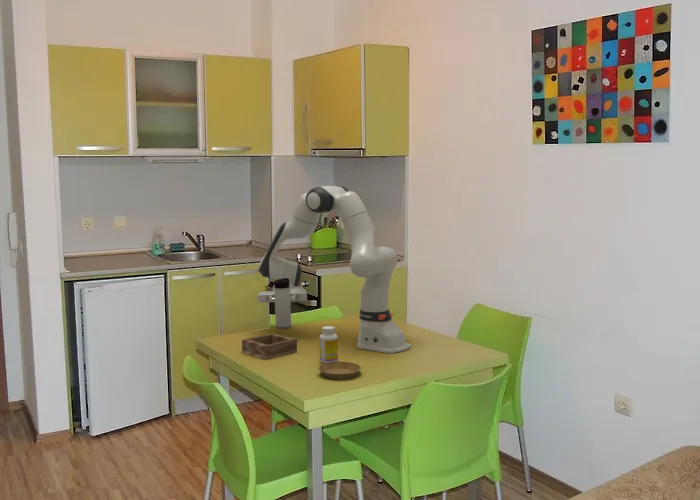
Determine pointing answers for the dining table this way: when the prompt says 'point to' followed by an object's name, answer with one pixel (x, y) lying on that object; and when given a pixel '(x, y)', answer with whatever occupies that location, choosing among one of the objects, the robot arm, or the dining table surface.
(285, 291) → the travel mug
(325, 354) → the supplement bottle
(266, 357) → the square wooden tray
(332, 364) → the plant saucer
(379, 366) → the dining table surface
